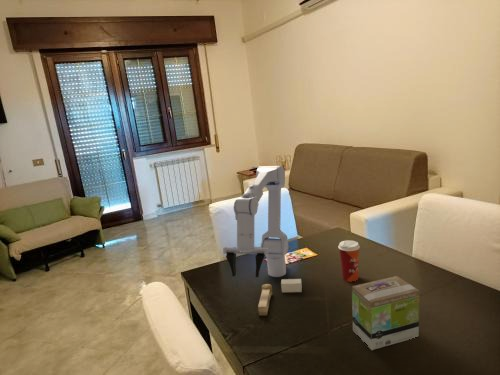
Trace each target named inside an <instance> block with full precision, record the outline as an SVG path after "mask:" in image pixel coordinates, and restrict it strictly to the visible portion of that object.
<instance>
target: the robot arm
mask: <svg viewBox="0 0 500 375" xmlns="http://www.w3.org/2000/svg"><path fill="white" fill-rule="evenodd" d="M255 176H256V178H255V180H254V182H253V183H252V184H249V186H248V187H247V188H246V190H244V191H245V192H243V194H242V195H241V197H238V198H237V199H235V200H234V203H233V213H234V215H235V216H234V217H235V220H236V246H224V247H223V249H222V250H223V254H225V257H226V258H225V259H226V260H227V261H228V264H229V266H230V270H231V274H232V275H231V276H232V277H236V276H237V267H236V266H237V265H236V264H237V263H236V262H237V261H236V260H237V255H238V254H240V255H241V254H242V255H255V278H259V276H260V271H261V270H260V269H261V266H262V264H263V261H264V258H265V257H266V264H267V265H266V266H267V274H268V276H270V277H273V278H280V277H283V276H285V275H286V274H287V266H286V255H287V253H288V252H289V241H288V234H286V233H285V232H284V231H282V230H281V218H282V217H281V204H282V203H281V201H282V200H281V199H282V196H281V195H282V188H284V187H285V184H286V171H285V168H284V167H283V165H280V164H279V165H266V166H265V165H263V166H261V165H259V166H258V167H257V169H256V174H255ZM264 188H265V189H267V191H268V201H267V202H268V204H267V206H268V207H267V212H268V213H267V230H266V231H265V232H264V233H263V234H262V236H261V242H260V246H259V247H257V246H255V215H256V214H257V212H258V209H259V203H260V200H261V199H262V197H263V195H264V191H263V190H264Z"/></svg>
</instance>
